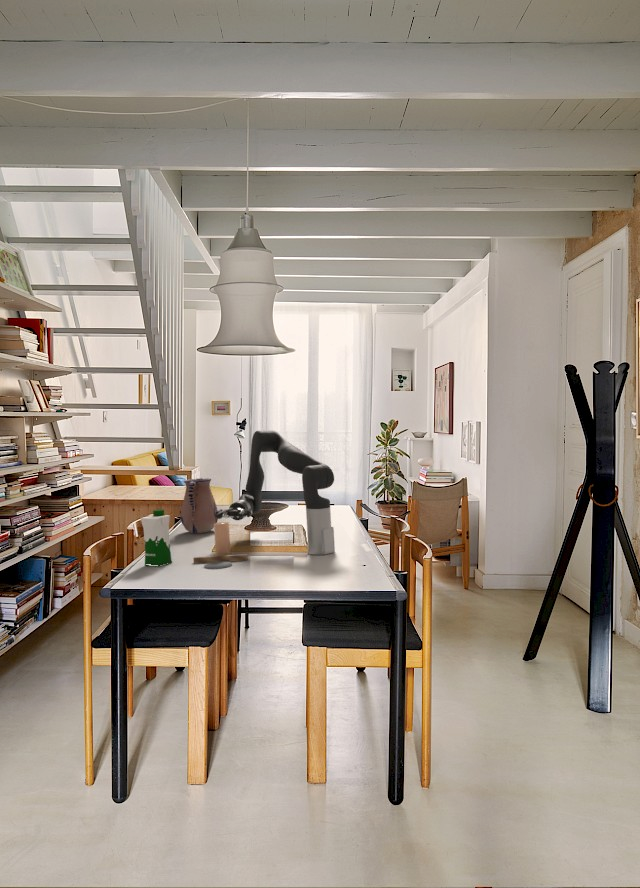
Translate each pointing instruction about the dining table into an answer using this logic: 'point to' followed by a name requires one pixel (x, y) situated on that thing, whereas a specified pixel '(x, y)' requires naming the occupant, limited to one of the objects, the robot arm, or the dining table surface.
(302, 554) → the dining table surface
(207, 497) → the ceramic pitcher
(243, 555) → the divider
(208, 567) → the coaster
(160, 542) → the milk carton
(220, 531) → the peach cylinder
